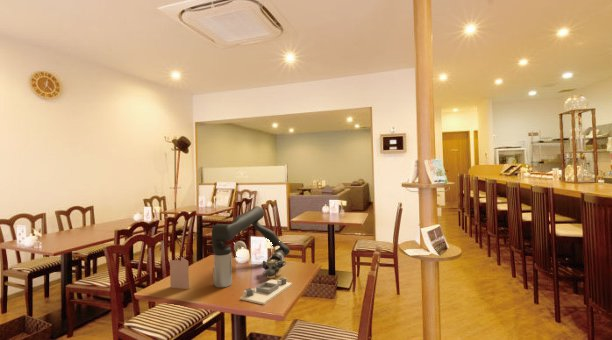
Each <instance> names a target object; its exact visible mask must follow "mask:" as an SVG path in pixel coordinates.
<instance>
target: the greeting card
mask: <svg viewBox="0 0 612 340" xmlns="http://www.w3.org/2000/svg"><path fill="white" fill-rule="evenodd" d="M189 264H190V262H189V260H187V259H186V258H184V257H182V256H180V259H179V260H176V259H174V260H173V259H169V273H170V274H169V275H170V277H169V278H170V281H169V283H170V288H171V289H172V288H173V289H183V290H190V276H189V275H190V273H189V271H190V270H189V267H190V265H189Z"/></svg>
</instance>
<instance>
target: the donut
mask: <svg viewBox="0 0 612 340" xmlns="http://www.w3.org/2000/svg"><path fill="white" fill-rule="evenodd" d="M239 247H241V248H242V247H244V248H246V249H247V245H246V243H245V242H244V241H243V240H238V241H236V242H235V243H234V246H233V249H234V251H235V253H236V250H237V249H240V248H239Z"/></svg>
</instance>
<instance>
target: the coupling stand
mask: <svg viewBox="0 0 612 340" xmlns="http://www.w3.org/2000/svg"><path fill="white" fill-rule="evenodd" d="M291 286H293V282H288V278H287V277H280V278H278V279H269V280H267V281H265V282H262V284H259V285H258V286H256V287H255V288H253V287H252V288H250V287H249V288H245V290H243V295H241V296H240V297H239V298H240V299H239V300H241V301H247V302H249V303H255V304H258V305H264V306H265V305H266V304H267V303H269V302H270V301H271V300H274V299H275V298H276V297H277V296H278V295H280V294H282V293H283V292H284V291H285V290H286V291H287V289H289V288H290V287H291Z"/></svg>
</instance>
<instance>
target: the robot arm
mask: <svg viewBox="0 0 612 340" xmlns="http://www.w3.org/2000/svg"><path fill="white" fill-rule="evenodd" d="M264 216H265V210H264V209H263V208H262V207H261V206H254V207H253V208H251V209H250V210H248V211H247V212H244V213H240V214H239V215H237V216H235V217H234V219H233V220H232V223H216V224H214V225H213V226H212V229H211V241H212V250H213V265H214V266H213V268H212V278H213V279H212V283H213V286H215V287H216V288H227V287H229V286H232V285H233V269H232V267H233V265H232V264H233V262H232V260H233V259H232V248H231V246H229V245H228V244H226V243H225V242H230V241H231V240H233V239H234V238H235V237H236V236H237V235H238V234H239V233H241V232H243V231H245V230H246V229H248V228H249V227H250V226H253V227H254V228H255V230H257V231H258V232H259V234H261V235H262V236H263V237H264V239H266V238H267V239H269V240H270V242H272V244H273V245H272V246H273V247H272V246H271V247H272V248H275V247H278V248H277V249H276V250H275V251H274V252H273V254H271V256H270V258H269V259H275V265H274V267H273V270H275V271H276V270H277V269H282V268H283V267H284V266H285V265H286V262H285V260H284V259H285V257H286V256H288V255H289V254H290V252H291V249H290V247H289V246H288V245H286V244H285V243H284V242H283V241H282V240H280V238H279V237H278V236H277V235H276V233H275V232H274V231H273V230H271V229H269V228H267V227H265V226H263V225H262V224H261V223H260V222H259V221H260V220H261V219H263V218H264ZM279 241H280V242H279ZM262 268H263V269H264V271H267V260H266V261H265V260H263V261H262Z"/></svg>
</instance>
